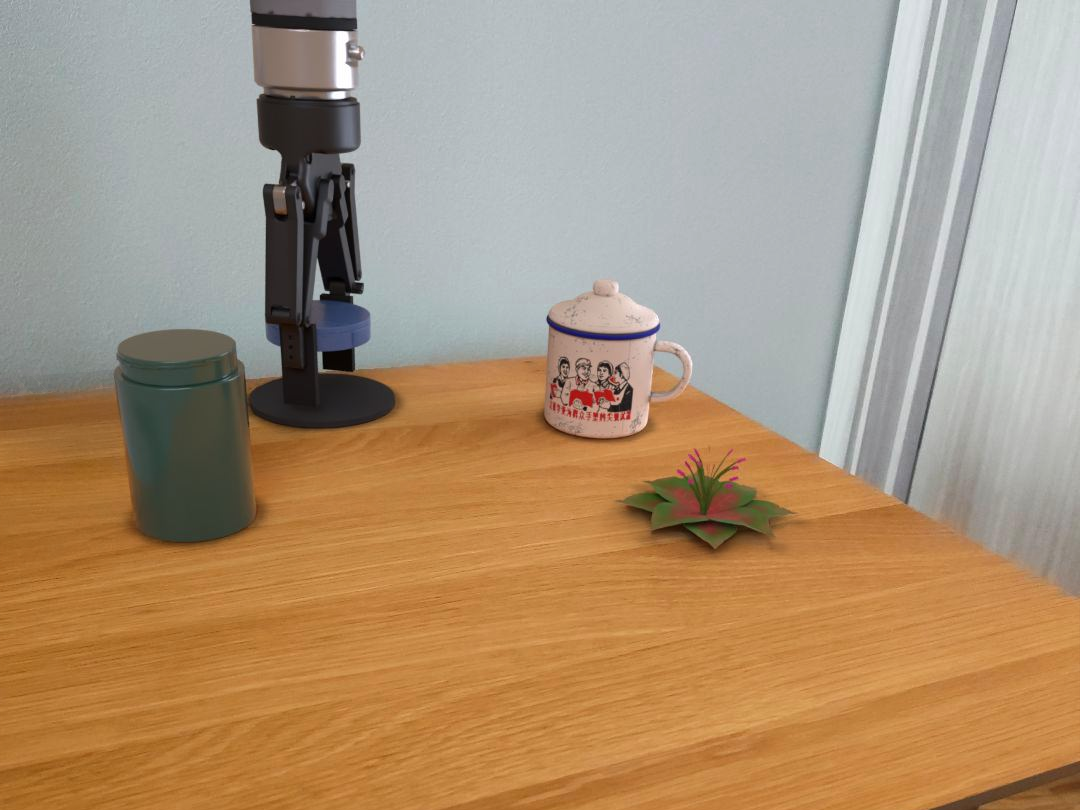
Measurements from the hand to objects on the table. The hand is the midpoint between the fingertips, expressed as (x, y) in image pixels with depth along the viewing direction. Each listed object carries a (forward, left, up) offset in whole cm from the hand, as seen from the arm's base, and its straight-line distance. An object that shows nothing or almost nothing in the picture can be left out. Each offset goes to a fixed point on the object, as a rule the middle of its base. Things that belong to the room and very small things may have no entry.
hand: (321, 385), depth 89 cm
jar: (+11, -20, -2) cm, 23 cm away
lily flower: (+35, +4, -2) cm, 35 cm away
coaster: (0, 0, -1) cm, 1 cm away
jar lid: (0, 0, +6) cm, 6 cm away
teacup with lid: (+20, +14, -2) cm, 25 cm away
